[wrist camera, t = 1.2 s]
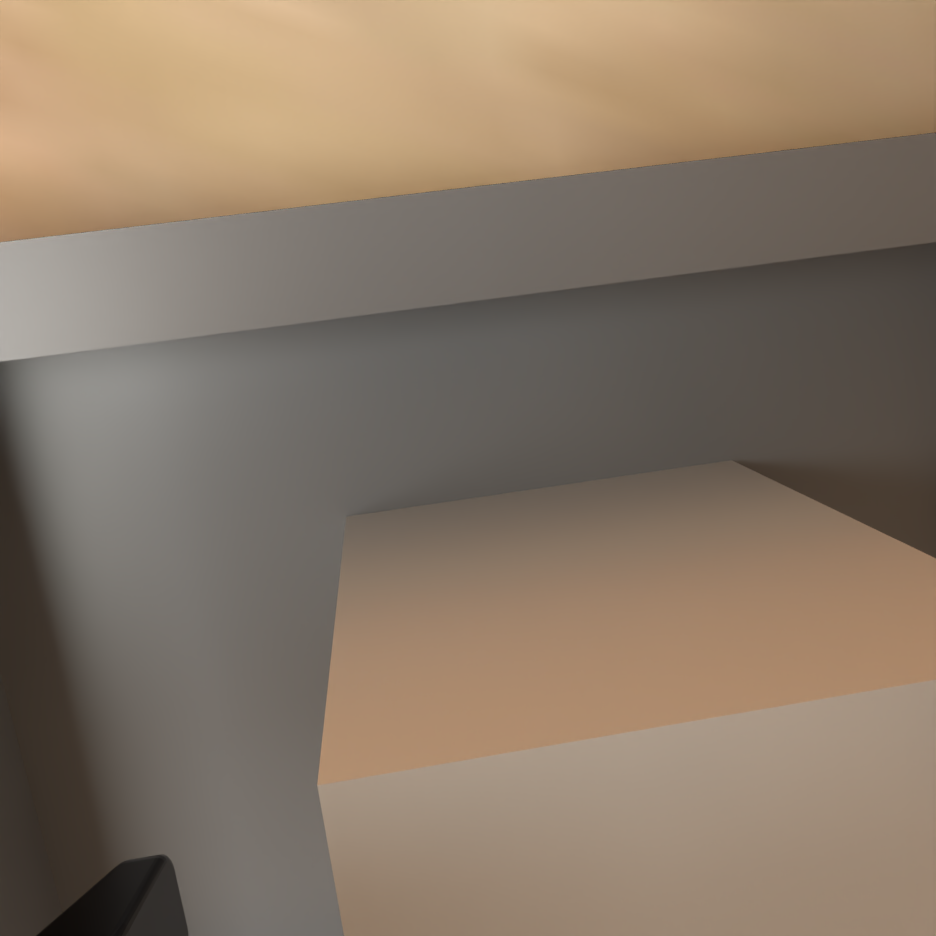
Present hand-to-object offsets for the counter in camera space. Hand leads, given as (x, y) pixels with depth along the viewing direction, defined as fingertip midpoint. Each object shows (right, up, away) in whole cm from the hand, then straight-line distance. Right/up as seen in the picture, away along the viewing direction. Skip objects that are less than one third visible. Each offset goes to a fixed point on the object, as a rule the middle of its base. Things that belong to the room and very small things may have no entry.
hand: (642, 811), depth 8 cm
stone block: (0, +1, +3) cm, 3 cm away
